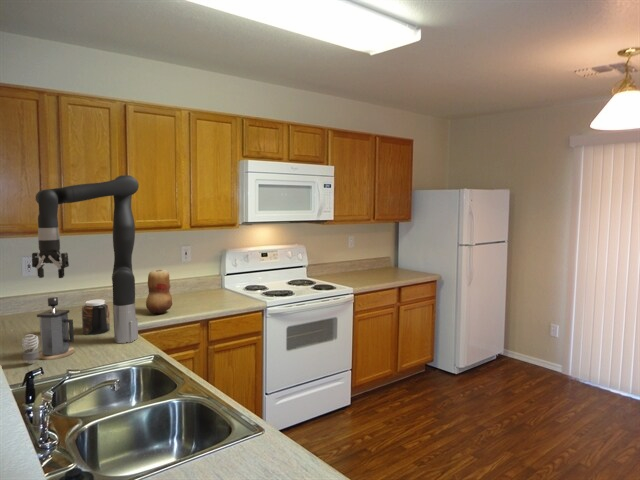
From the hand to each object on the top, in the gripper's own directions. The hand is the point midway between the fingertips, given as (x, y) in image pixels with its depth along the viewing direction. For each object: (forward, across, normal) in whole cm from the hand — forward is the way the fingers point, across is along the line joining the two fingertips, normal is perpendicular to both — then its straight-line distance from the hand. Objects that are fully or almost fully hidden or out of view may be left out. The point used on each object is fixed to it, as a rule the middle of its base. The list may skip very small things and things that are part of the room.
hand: (51, 277), depth 188 cm
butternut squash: (+33, -15, -68) cm, 77 cm away
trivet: (+32, 0, 0) cm, 32 cm away
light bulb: (+33, +2, +12) cm, 35 cm away
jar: (+33, +1, -32) cm, 46 cm away
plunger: (+29, 0, 0) cm, 29 cm away
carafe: (+32, -2, 0) cm, 32 cm away
